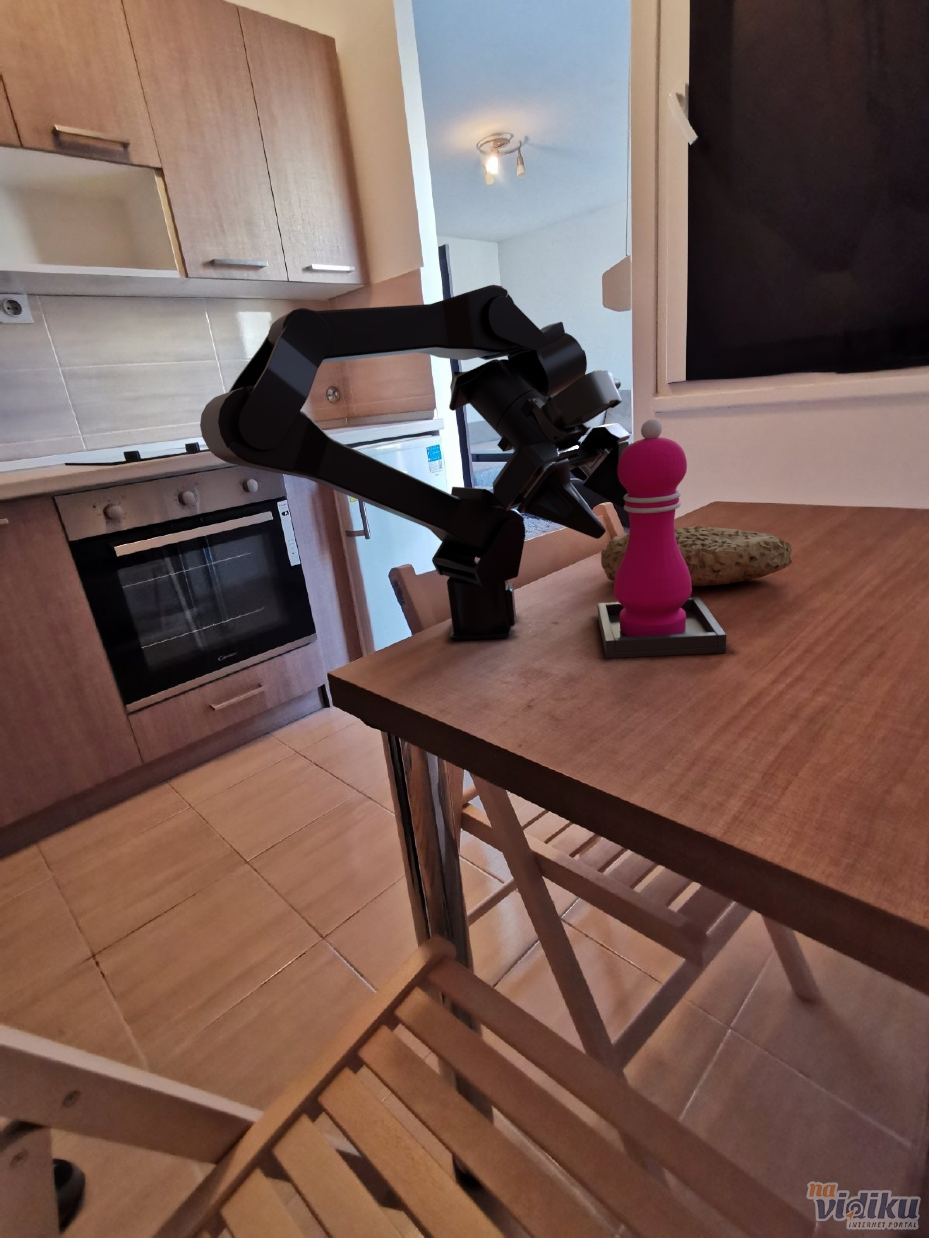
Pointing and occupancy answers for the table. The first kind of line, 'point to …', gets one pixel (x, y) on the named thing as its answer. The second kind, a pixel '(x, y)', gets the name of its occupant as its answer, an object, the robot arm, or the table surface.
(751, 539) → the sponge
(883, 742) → the table surface
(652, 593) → the pepper mill
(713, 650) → the shallow square tray
